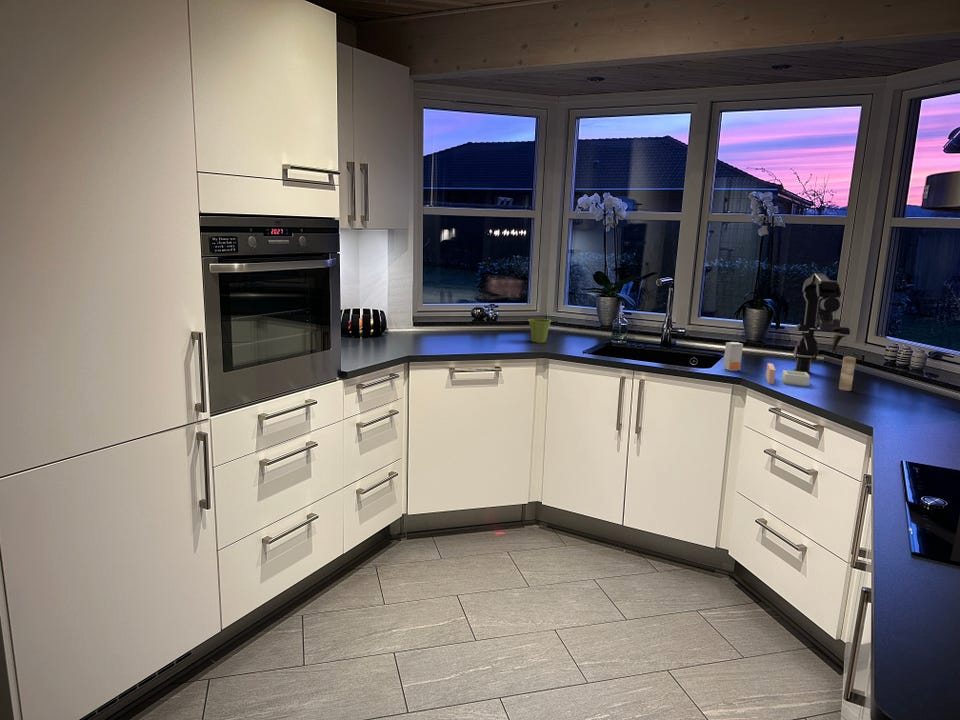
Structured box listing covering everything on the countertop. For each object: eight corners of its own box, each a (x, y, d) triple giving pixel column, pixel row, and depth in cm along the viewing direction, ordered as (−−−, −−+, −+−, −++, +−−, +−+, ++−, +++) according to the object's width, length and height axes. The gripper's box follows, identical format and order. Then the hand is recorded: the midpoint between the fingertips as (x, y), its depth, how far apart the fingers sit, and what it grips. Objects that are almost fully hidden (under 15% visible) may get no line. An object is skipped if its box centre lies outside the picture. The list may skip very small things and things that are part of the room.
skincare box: (728, 370, 295) (731, 343, 292) (722, 368, 299) (725, 342, 296) (740, 370, 296) (743, 343, 294) (734, 368, 300) (737, 342, 298)
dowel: (837, 387, 271) (842, 356, 268) (849, 389, 269) (854, 357, 267) (839, 390, 266) (844, 357, 264) (852, 391, 265) (857, 359, 263)
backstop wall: (765, 377, 285) (767, 363, 284) (770, 377, 284) (772, 363, 283) (768, 384, 272) (770, 369, 271) (773, 384, 271) (775, 370, 270)
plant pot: (540, 339, 355) (541, 318, 353) (554, 343, 346) (556, 321, 344) (522, 340, 349) (523, 319, 346) (536, 344, 339) (538, 322, 337)
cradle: (781, 379, 281) (783, 370, 280) (805, 381, 278) (806, 372, 277) (784, 383, 272) (785, 374, 272) (808, 386, 270) (809, 376, 269)
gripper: (803, 310, 264) (799, 350, 265) (856, 313, 259) (851, 354, 261) (797, 310, 275) (793, 348, 276) (848, 313, 270) (843, 352, 271)
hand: (820, 351), depth 271 cm, fingers open, 9 cm apart
